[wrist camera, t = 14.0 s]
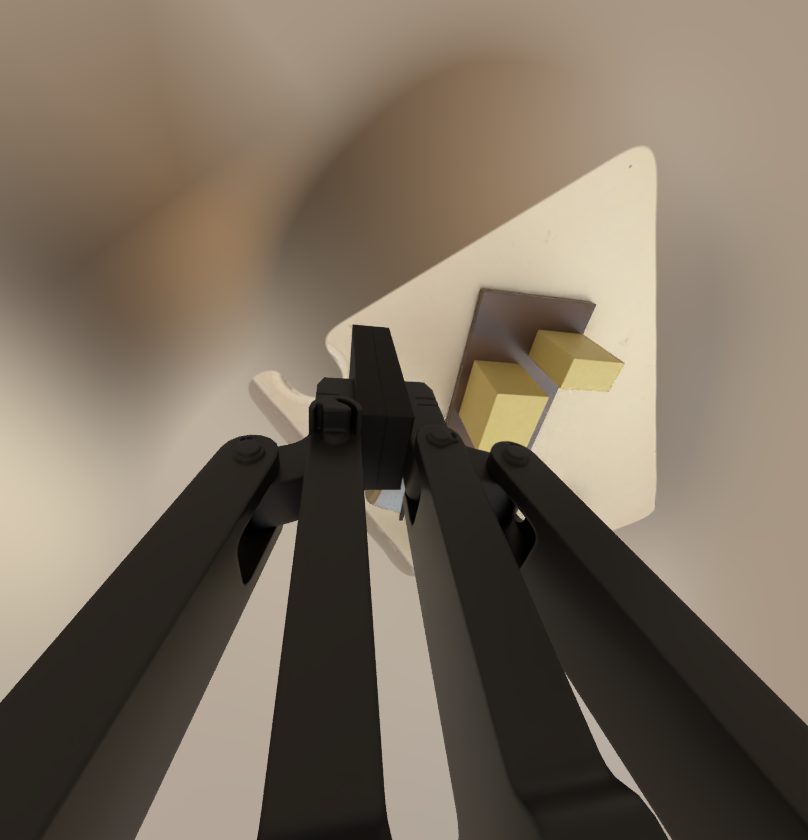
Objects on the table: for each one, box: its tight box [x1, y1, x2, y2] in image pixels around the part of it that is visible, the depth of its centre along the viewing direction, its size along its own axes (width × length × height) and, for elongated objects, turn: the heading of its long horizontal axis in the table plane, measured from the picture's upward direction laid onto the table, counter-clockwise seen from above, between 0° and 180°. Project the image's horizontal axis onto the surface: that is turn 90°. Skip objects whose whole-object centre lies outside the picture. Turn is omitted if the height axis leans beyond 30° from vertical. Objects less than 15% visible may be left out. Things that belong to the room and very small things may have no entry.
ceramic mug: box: [365, 479, 405, 514], centre depth 50 cm, size 11×8×8 cm
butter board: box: [446, 289, 596, 450], centre depth 46 cm, size 22×14×1 cm, turn 171°
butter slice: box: [528, 330, 624, 392], centre depth 40 cm, size 4×6×8 cm, turn 81°
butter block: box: [459, 360, 549, 452], centre depth 42 cm, size 8×6×8 cm
